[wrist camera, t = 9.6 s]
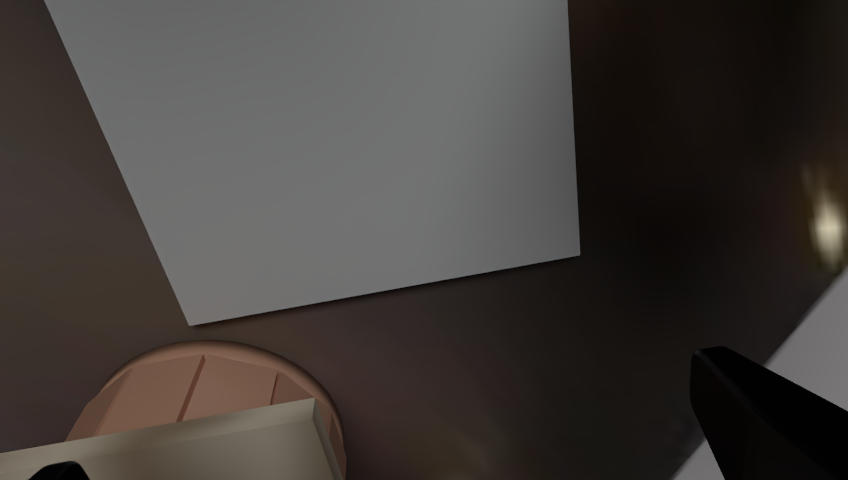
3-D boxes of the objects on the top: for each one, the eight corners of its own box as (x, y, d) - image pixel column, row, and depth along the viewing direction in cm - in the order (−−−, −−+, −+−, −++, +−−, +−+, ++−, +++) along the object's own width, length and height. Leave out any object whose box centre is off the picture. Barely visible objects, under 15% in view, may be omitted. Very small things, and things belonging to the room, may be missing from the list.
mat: (548, -240, 15) (555, -245, 14) (575, 246, 22) (580, 255, 21) (-2, -131, 15) (-15, -133, 15) (193, 316, 22) (189, 326, 21)
